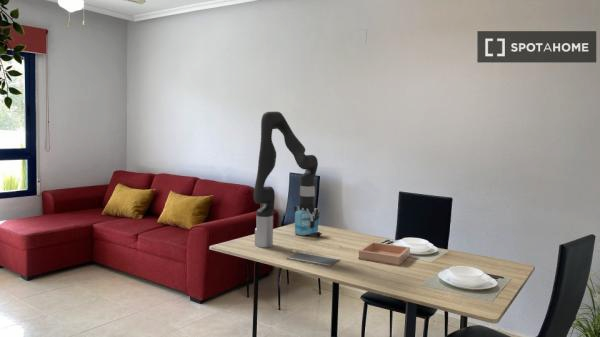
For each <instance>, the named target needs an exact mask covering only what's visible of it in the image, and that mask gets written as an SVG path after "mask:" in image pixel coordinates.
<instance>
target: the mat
mask: <svg viewBox="0 0 600 337" xmlns="http://www.w3.org/2000/svg"><path fill="white" fill-rule="evenodd" d="M286 260H291V261H296V262H301V263H302V262H303V263H307V264H314V265H318V266H325V267H329V268H330V267H331V266H333V265H335V264H336V263H338V262H340V261H341V260H340V258H336V257H330V256H324V255H319V254H313V253H312V254H311V253H307V252H300V251H297V252H295V253H293V254H291V255H289V256H288V257H286Z"/></svg>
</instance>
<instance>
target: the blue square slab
mask: <svg viewBox="0 0 600 337" xmlns="http://www.w3.org/2000/svg"><path fill="white" fill-rule="evenodd" d="M313 213H314V217H315V210H314V211H313V212H312V214H311V215H313ZM316 232H319V219H318V220H316V221H315V227H314V228H313V229H311V219H310V217H309V215H308V211H306V210H304V211H303V210H300V209H299V210H298V211H296V212H295V211H294V233H296V234H299V235H308V234H313V233H316ZM296 234H295V235H296ZM299 235H298V236H299ZM308 236H309V235H308Z"/></svg>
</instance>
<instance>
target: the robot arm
mask: <svg viewBox="0 0 600 337" xmlns="http://www.w3.org/2000/svg"><path fill="white" fill-rule="evenodd" d="M260 124H261V125H260V146H259V154H258V160H257V161H258V165H257V172H256V179H255V185H254V189H253V201H254V202H255V204H256V205H257V204H258V205H260V204H263V206H262V207H260V208H258V209H257V210H256V220H255V221H256V227H255V229H254V246H255V247H258V248H262V249H263V248H272V246H274V245H273V244H274V240H273V239H274V235H273V234H274V211H275V198H276V194H275V189H274V187H272V186H271V185H270V186H265V182H266V181H267V179H268V177H269V176H270V174H271V173H272V172H273V170H274V169H275V166H276V162H277V150H276V148H275V146H274V142H273V130H278V131H279V132H280V133H281V134H282V135H283V140H284V144H285V146H286V148H287V149H288V151H289V152H290V153H291V154H292V155H293V157H294V160H295V163H296V165H297V166H298V167H299V168H300V169H301V170H305V172H304V173H302V174H301V175H300V184H299V185H300V187H299V205H295V206H294V207H293V209H294V213H295V212H296V211H298V210H303V211H304V210H306V211H308V215H309V217H310V219H311V229H313V228H314V227H315V221H316V220H318V221H319V218H320V212H321V209H320V208H316V206H315V197H316V189H315V180H316V179H315V178H316V174H317V170H318V165H319V164H318V162H319V161H318V158H317V157H316V155H314V154H307V155H306V154H305V153H306V148H305V146H304V145H303V143H302V142H301V141H300V139H298V137H296V135H295V133H294V132H293V130H292V129H291V127H290V124H288V121H287V119H286V118H285V117H284V115H283V113H281V111H266V112H264V113H263V114H262V117H261V123H260ZM314 210H315V217H314V213H313V215H311V214H312V212H313V211H314Z"/></svg>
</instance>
